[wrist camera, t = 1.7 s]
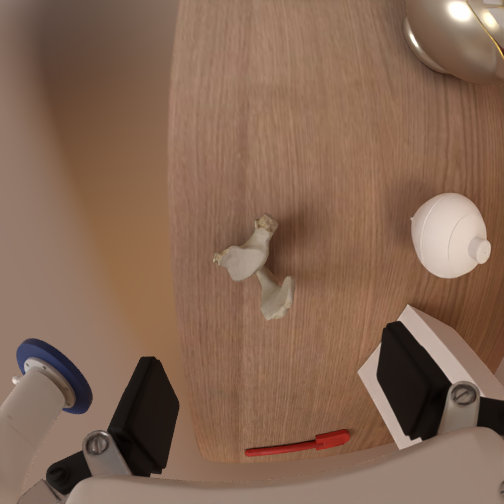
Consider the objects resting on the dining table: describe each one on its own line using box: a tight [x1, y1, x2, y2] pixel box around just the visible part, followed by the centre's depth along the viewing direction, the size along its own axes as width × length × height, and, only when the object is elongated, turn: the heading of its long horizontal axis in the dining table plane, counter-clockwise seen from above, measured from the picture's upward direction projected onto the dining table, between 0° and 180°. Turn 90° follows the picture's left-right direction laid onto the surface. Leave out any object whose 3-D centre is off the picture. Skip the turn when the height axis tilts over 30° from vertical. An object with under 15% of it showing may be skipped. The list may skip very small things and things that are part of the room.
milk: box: [357, 304, 504, 450], centre depth 20 cm, size 12×12×26 cm
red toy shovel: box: [245, 429, 350, 457], centre depth 38 cm, size 18×4×1 cm, turn 98°
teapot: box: [402, 0, 504, 85], centre depth 11 cm, size 18×14×16 cm
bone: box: [213, 213, 295, 320], centre depth 24 cm, size 9×6×10 cm
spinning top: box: [410, 193, 491, 278], centre depth 21 cm, size 8×8×12 cm
